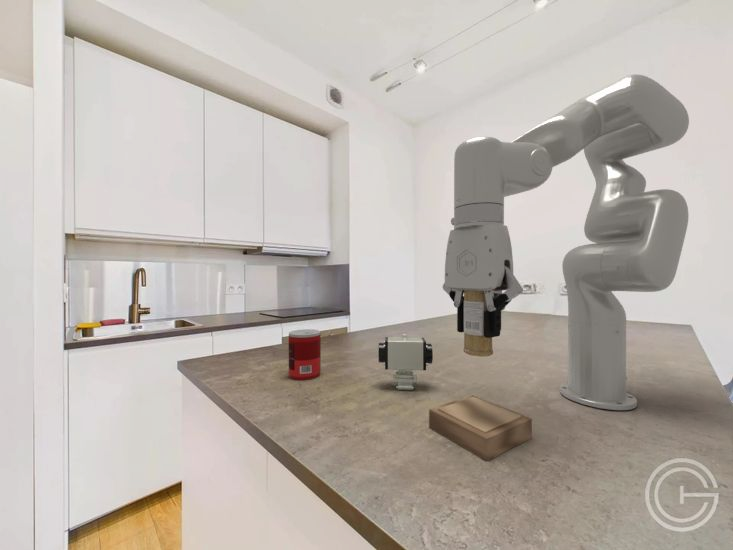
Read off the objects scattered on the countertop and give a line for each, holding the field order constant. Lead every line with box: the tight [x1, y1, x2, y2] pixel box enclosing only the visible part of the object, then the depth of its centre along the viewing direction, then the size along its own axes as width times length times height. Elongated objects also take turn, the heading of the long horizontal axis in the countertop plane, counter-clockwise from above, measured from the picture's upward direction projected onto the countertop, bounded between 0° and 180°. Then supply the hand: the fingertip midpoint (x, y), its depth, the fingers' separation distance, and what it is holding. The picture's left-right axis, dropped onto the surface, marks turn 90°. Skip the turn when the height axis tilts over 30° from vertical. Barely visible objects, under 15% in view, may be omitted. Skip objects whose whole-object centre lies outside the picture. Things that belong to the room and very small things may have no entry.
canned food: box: [288, 328, 322, 381], centre depth 78 cm, size 8×8×11 cm
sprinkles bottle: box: [463, 290, 494, 357], centre depth 49 cm, size 5×5×14 cm
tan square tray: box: [428, 395, 533, 462], centre depth 49 cm, size 11×11×3 cm
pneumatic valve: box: [378, 333, 434, 391], centre depth 70 cm, size 6×12×12 cm, turn 86°
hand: (478, 332), depth 49 cm, fingers closed on sprinkles bottle, 4 cm apart
